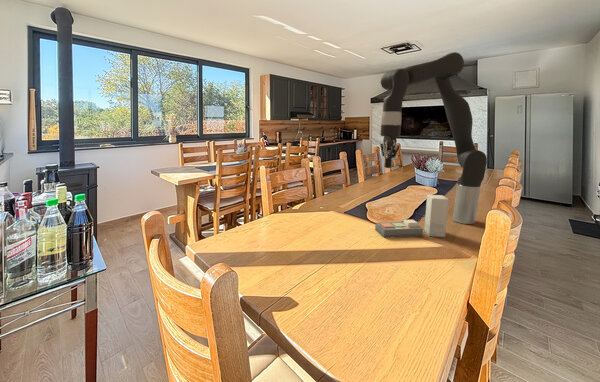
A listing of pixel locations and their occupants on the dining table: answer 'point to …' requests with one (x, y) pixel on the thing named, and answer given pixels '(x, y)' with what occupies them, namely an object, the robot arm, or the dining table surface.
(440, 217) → the skincare box
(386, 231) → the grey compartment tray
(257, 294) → the dining table surface
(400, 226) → the key sage
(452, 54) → the robot arm
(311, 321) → the dining table surface
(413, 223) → the key ivory
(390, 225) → the key coral
